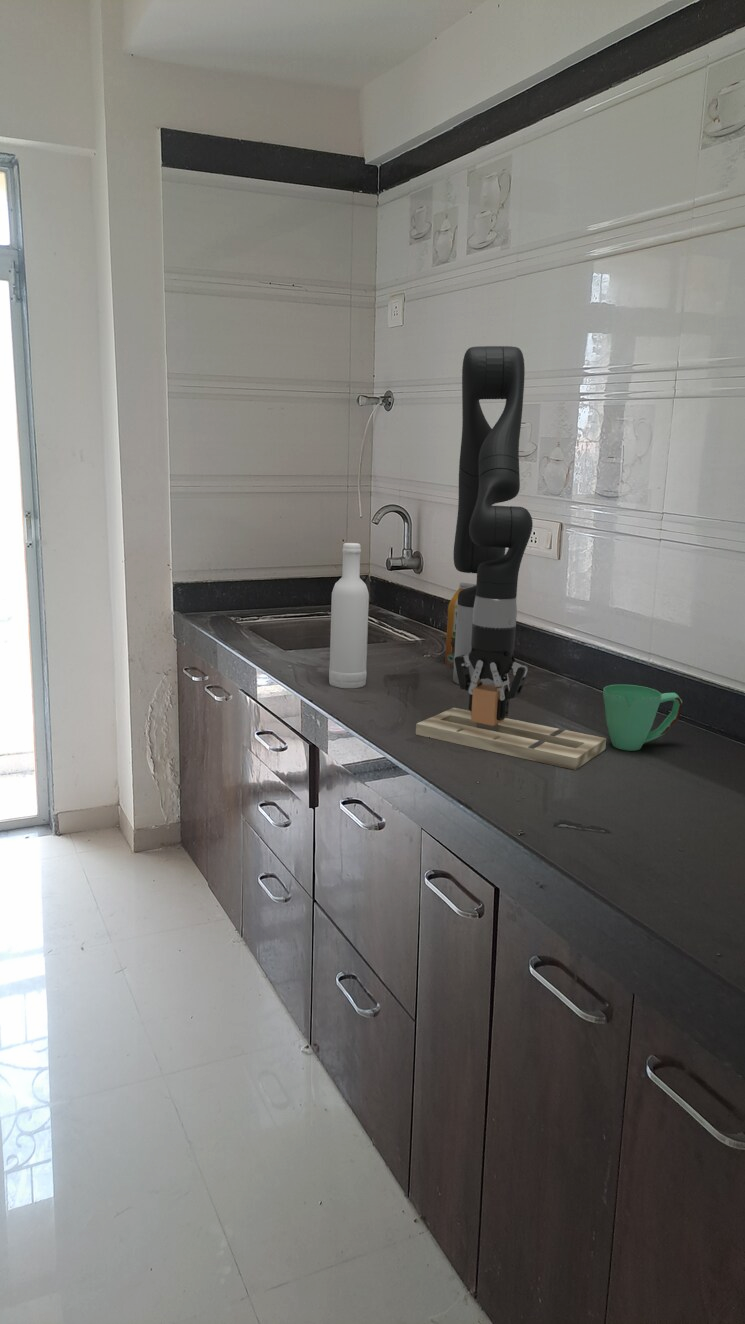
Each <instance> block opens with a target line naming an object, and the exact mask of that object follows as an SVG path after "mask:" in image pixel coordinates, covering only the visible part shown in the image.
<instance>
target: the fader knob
mask: <svg viewBox="0 0 745 1324" xmlns="http://www.w3.org/2000/svg"><path fill="white" fill-rule="evenodd" d="M498 700H499V697H498V691H497V688H496V687H495V684H494V685H489V684H482V685H480V686H477V687H475V688H473V696H472V712H471V721H473V722H477V728H482V729H486V730H491V731H496V732H497V731H498V723H500V722H502V721H504V719H503V720H501V721H500V720H497V705H498Z"/></svg>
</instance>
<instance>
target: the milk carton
mask: <svg viewBox="0 0 745 1324" xmlns="http://www.w3.org/2000/svg"><path fill="white" fill-rule="evenodd" d="M473 586H476V583H470V582H462V581H461V582H459V586H458V587H459V588H458V589H457V590H456V592H455V593H454V594H453V596H452V598H451V599H450V601H449V603H448V607H447V626H446V639H445V641H446V642H445V643H446V644H445V656H444V657H445V661H444V663H445V664H447V665H453V666H454V656H455V639H456V622H457V604H458V594H459V592H460V591H461V590H463V589H466V588H470V587H473Z"/></svg>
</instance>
